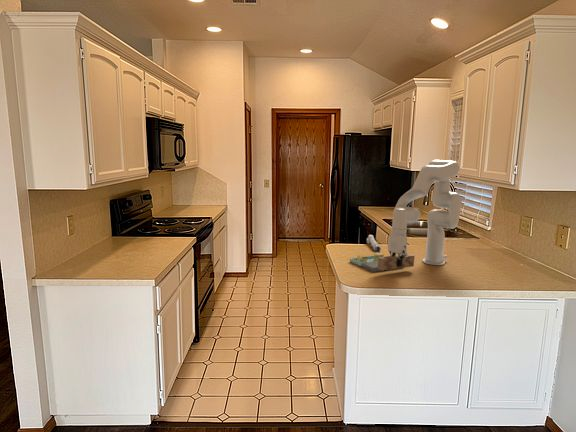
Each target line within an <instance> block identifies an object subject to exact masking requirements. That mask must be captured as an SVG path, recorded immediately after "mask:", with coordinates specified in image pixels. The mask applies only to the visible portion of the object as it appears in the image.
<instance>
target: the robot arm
mask: <svg viewBox="0 0 576 432" xmlns="http://www.w3.org/2000/svg"><path fill="white" fill-rule="evenodd" d="M459 171H460V164H459V163H458V162H457V161H454V160H443V159H441V160H440V159H434V160H431V161H430V162H428V165H424V166H422V167H421V169H420V170H419V173H418V175H417V177H416V180H415V181H414V184H413V186H412V188H410V189H409V190H408V191H406V192H405V193H403V195H401V196H400V197H399V199H398V200H397V203H396V204H395V207H394V209H393V212H392V223H391V228H390V229H391V232H390V234H389V237H388V242H387V251H388V253H389V256H395V255H398V259H397V266H398V267H399V266H402V260H403V259H404V257H406V256H407V255H408V254H409V253H408V252H407V251H408V236H407V231H408V229H407V228H408V227H407V226H408V222H409V223H416V222H418V221H419V220H420V218H421V216H422V212H421V211H420V210H419V209H418V208H416V207H411V206H408V204H410V203H411V202H412V201H414V200H417V199H419V198H424V197H425V196H427V195H428V193H429V191H430V189H431V187H432V184H433V183H434V186H433V192H432V193H433V194H432V201H431V202H432V204H433V206H434V207H436V208H437V209H436V208H435V209H431V210H429V212H428V213H427V216H426V220H427V234H426V235H427V236H426V248H425V257H424V258H422V260H421V261H422V263H424V264H427V265H431V266H443V265H446V264H445V263H446V261H445V259H448V257H449V256H448V255H447V254H446V255H444V246H445V237H446V236H445V235H446V234H445V230H444V229H445V228H446V229H455V228H457V226H458V225H459V221H460V216H461V209H462V197H461V195H460V193H457V192H455V191H454V192H453V191H450V189H451V179H452V178H454V177H456V176H457V175H458V174H459ZM438 208H441V209H438ZM444 209H448V210H444ZM400 255H401V256H400Z"/></svg>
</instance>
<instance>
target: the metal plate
mask: <svg viewBox="0 0 576 432" xmlns="http://www.w3.org/2000/svg"><path fill="white" fill-rule="evenodd" d="M377 267H378V261H372V262H365V263H362V267H361V268H362V269H364V268H365V269H364V270H367V271H369V272H371V271H372V273H377V271H379V272H383V271H384V270H383V271H382V270H380V269H377Z"/></svg>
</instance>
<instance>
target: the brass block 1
mask: <svg viewBox="0 0 576 432" xmlns="http://www.w3.org/2000/svg"><path fill="white" fill-rule="evenodd" d="M367 256H368V255H365V254H360V255H357V256H356V258H357V261H358V262H361V263H365V262H367Z"/></svg>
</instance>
